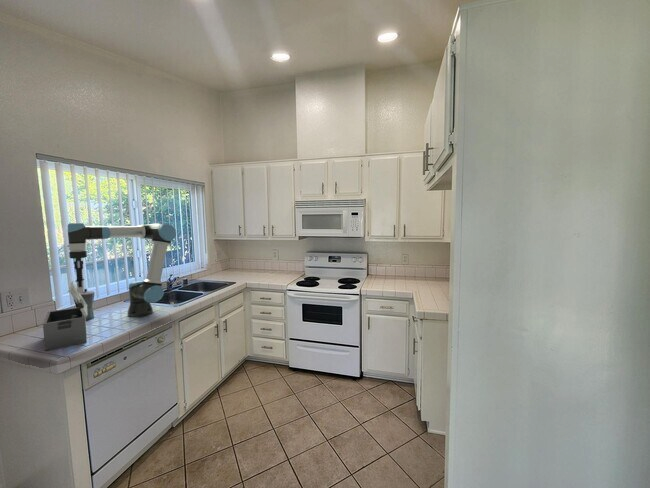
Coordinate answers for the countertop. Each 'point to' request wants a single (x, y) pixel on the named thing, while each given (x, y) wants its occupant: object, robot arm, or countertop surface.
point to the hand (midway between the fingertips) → (80, 292)
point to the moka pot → (88, 302)
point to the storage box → (64, 329)
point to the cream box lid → (78, 298)
